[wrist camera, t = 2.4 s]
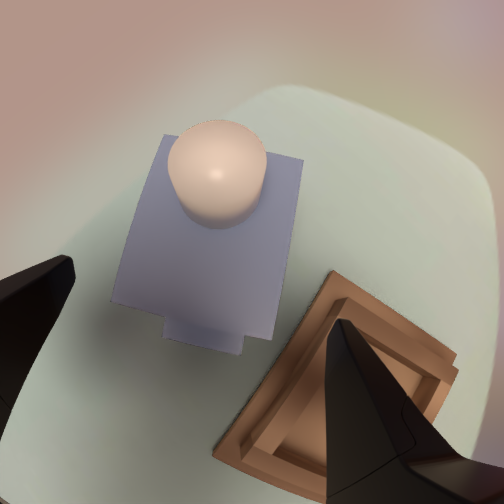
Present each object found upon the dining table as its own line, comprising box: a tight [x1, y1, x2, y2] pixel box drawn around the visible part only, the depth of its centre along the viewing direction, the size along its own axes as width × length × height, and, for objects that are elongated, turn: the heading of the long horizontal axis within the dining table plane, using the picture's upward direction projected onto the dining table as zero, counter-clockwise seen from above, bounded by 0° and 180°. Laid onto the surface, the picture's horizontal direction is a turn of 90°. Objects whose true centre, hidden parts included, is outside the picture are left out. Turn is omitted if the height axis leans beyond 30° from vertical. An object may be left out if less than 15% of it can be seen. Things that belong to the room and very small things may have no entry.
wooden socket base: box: [212, 270, 459, 504], centre depth 16 cm, size 14×12×3 cm
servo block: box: [111, 120, 304, 356], centre depth 13 cm, size 8×5×12 cm, turn 168°
